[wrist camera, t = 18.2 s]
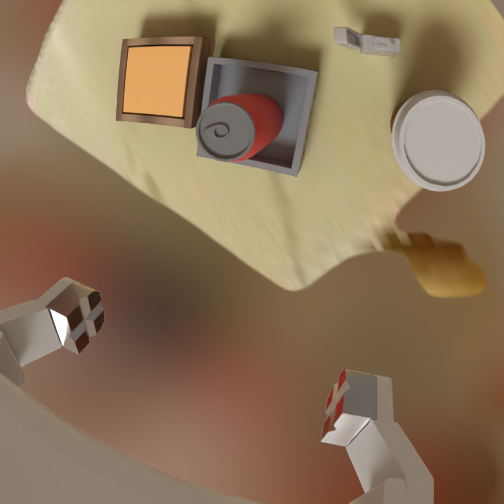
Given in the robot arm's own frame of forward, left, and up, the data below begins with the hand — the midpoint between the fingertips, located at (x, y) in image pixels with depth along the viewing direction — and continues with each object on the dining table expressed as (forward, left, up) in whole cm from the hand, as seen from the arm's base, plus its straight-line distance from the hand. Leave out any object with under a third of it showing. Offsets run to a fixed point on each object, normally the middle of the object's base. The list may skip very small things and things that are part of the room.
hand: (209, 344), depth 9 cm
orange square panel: (+20, -6, -30) cm, 37 cm away
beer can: (+7, -2, -32) cm, 33 cm away
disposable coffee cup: (-12, -6, -33) cm, 36 cm away
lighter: (-4, -14, -33) cm, 36 cm away
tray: (+7, -3, -33) cm, 34 cm away
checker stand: (+20, -6, -33) cm, 39 cm away
